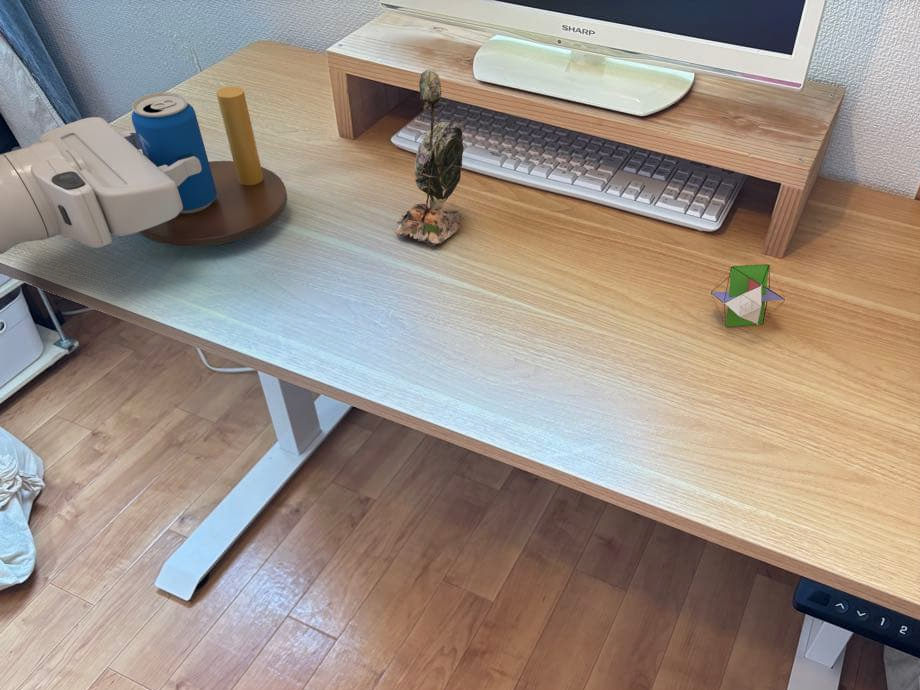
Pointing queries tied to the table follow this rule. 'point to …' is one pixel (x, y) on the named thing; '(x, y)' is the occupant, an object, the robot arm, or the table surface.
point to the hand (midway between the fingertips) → (182, 148)
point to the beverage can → (174, 143)
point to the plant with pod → (434, 173)
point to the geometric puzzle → (747, 295)
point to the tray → (230, 188)
